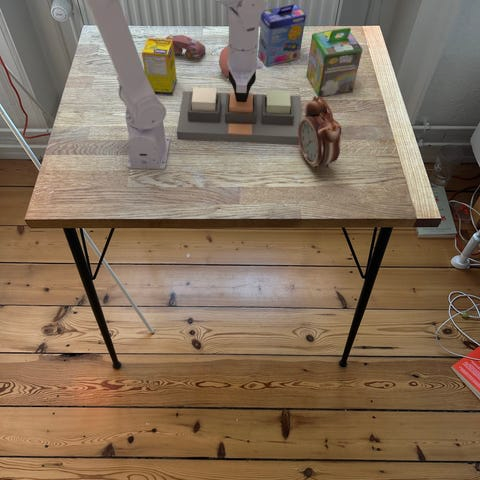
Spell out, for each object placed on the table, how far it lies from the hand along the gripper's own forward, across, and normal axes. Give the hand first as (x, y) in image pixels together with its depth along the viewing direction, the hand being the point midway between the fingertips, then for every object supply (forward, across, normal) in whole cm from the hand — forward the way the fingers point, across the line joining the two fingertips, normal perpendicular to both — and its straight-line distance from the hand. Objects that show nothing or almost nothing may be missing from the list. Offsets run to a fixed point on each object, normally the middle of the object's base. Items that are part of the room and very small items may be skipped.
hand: (241, 100), depth 110 cm
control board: (+6, 0, 0) cm, 6 cm away
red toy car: (+6, +25, +15) cm, 29 cm away
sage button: (+2, 0, -8) cm, 8 cm away
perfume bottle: (+6, +17, +2) cm, 18 cm away
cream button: (+2, 0, +8) cm, 8 cm away
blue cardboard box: (+6, +25, -9) cm, 27 cm away
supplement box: (+6, +11, +19) cm, 23 cm away
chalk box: (+6, +15, -21) cm, 26 cm away
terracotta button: (+3, 0, 0) cm, 3 cm away
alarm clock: (+6, -12, -16) cm, 21 cm away
